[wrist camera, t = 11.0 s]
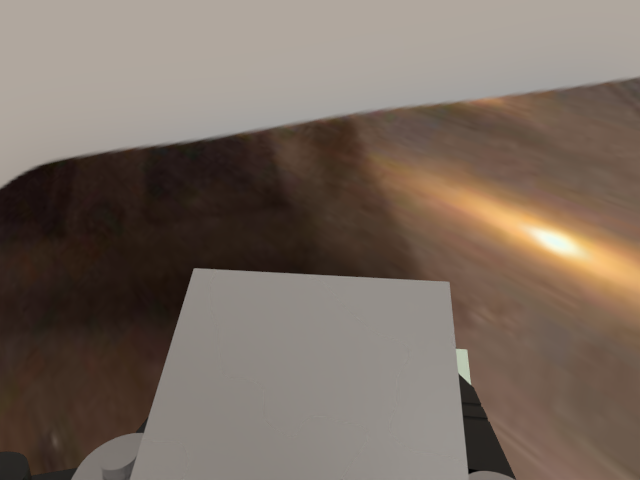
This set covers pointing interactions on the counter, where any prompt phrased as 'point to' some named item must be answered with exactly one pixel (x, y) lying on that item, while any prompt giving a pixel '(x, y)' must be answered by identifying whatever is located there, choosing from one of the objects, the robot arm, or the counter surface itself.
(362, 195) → the counter surface
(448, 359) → the grey upright block
